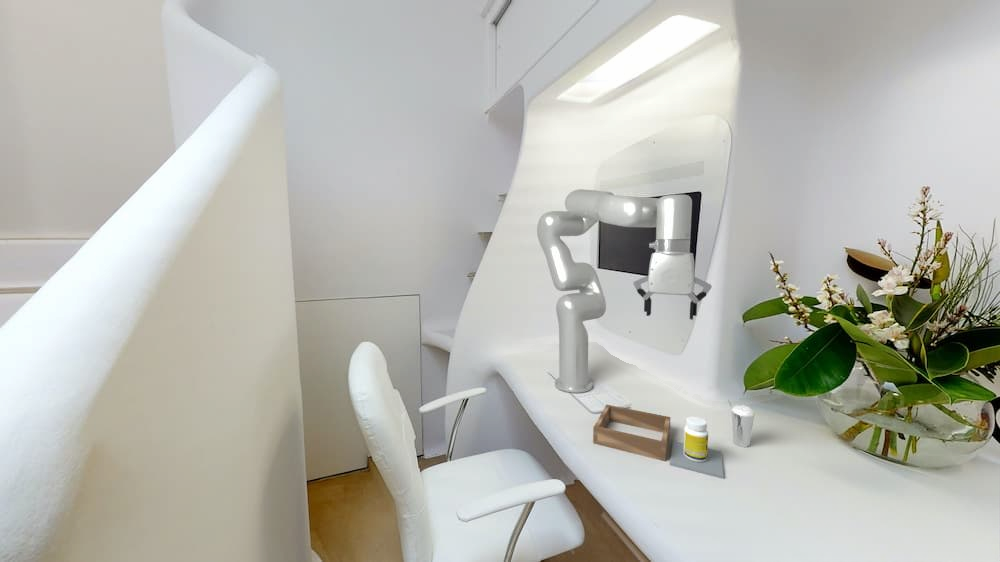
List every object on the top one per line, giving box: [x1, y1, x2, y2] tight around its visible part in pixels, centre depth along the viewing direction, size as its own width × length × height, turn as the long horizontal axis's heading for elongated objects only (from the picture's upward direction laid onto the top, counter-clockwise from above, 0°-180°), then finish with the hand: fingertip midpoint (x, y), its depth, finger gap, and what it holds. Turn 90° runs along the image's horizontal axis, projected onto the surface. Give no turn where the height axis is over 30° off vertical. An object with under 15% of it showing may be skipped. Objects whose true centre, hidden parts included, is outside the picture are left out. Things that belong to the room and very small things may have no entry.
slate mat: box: [669, 440, 725, 479], centre depth 81 cm, size 10×10×1 cm
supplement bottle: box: [683, 416, 709, 462], centre depth 81 cm, size 5×5×8 cm
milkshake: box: [727, 399, 755, 448], centre depth 87 cm, size 5×5×10 cm
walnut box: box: [592, 404, 671, 462], centre depth 90 cm, size 14×16×4 cm
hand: (669, 316), depth 90 cm, fingers open, 9 cm apart
